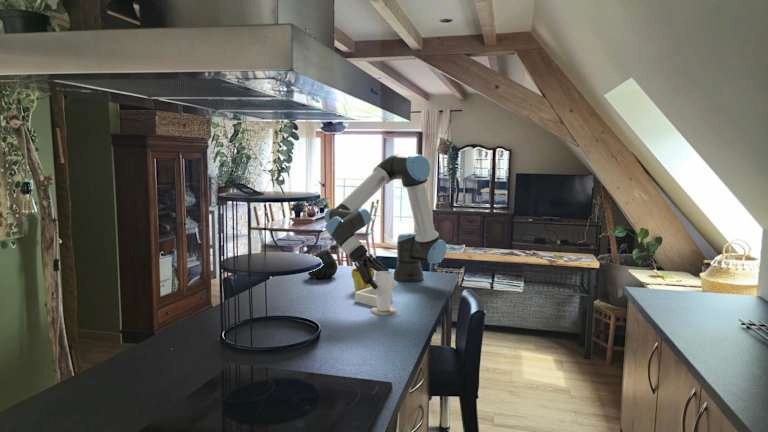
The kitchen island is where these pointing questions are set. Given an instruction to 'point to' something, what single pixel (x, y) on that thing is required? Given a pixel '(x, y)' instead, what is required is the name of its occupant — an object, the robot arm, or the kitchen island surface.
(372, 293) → the square holder
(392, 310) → the wooden coaster
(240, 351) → the kitchen island surface
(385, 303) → the white cup
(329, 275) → the squash
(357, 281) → the plant pot
